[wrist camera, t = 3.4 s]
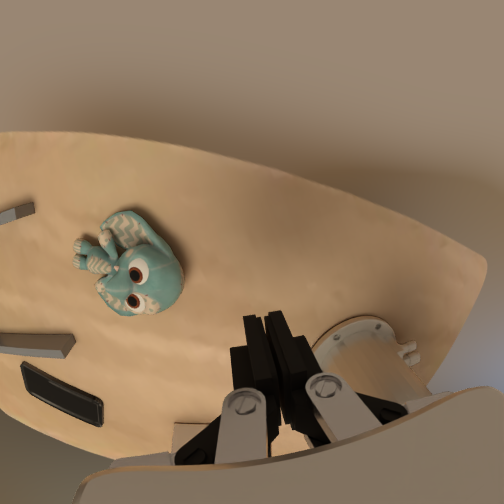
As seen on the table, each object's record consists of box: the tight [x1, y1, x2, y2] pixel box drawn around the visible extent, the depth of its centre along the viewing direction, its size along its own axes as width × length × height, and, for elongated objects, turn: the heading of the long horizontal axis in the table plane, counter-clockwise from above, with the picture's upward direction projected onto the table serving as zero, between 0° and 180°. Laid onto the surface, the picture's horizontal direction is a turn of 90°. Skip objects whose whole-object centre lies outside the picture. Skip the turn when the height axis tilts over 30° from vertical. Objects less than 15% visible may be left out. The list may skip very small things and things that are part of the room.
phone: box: [20, 361, 103, 427], centre depth 29 cm, size 8×1×15 cm
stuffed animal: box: [73, 211, 185, 316], centre depth 22 cm, size 11×7×12 cm
